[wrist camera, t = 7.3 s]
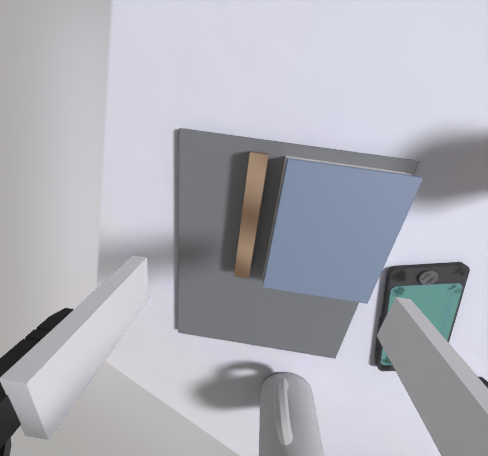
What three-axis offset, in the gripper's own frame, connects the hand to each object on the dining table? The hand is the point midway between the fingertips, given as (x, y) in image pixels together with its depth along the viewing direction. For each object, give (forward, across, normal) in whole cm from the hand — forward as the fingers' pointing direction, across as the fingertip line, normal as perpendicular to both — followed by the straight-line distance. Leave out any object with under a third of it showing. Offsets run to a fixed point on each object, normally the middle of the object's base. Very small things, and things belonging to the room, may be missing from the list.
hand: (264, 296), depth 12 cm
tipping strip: (+11, +2, 0) cm, 11 cm away
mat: (+11, -1, +4) cm, 12 cm away
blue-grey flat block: (+9, -1, 0) cm, 9 cm away
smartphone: (+12, -18, +9) cm, 24 cm away
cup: (+12, -6, +24) cm, 27 cm away
